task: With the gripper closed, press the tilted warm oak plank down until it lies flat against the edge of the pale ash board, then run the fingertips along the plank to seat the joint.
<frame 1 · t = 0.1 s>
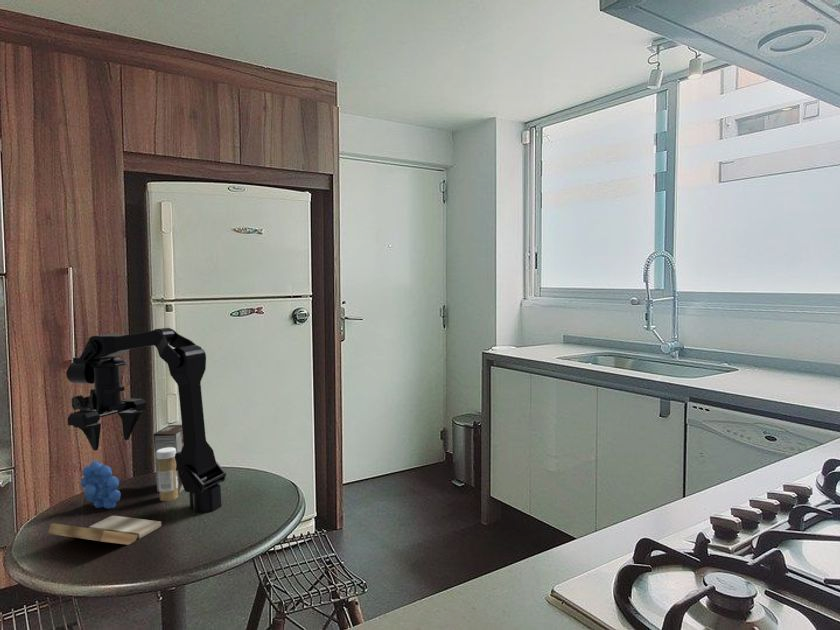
hand: (111, 444, 138), 15 cm above the table, tool pointing down, fingers open, 9 cm apart
ash board: (125, 532, 120), on the table
grapes: (98, 512, 133), on the table
coffee box: (176, 487, 147), on the table
sprinkles bottle: (169, 502, 137), on the table
oak plank: (93, 534, 112), point 3 cm above the table, hinge at 30.0°
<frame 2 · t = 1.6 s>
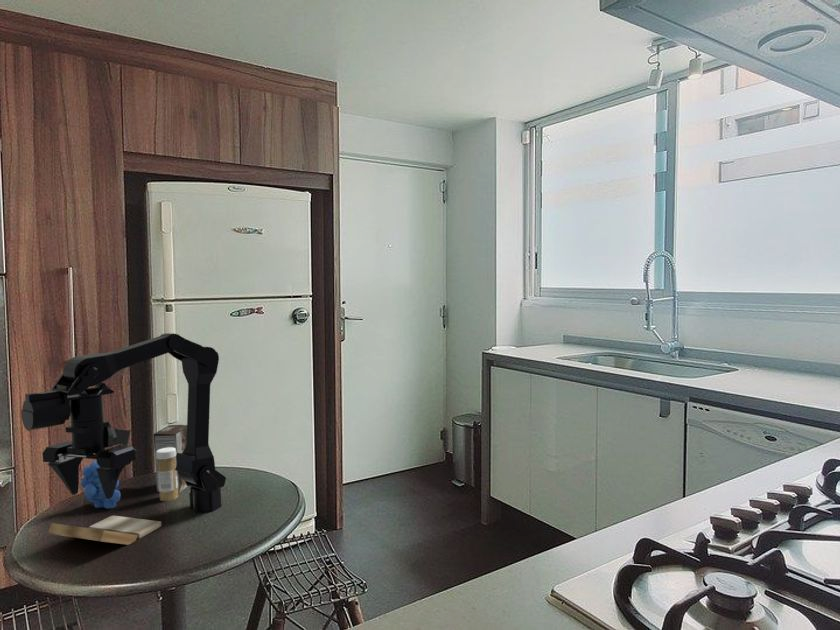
hand: (92, 496, 109), 12 cm above the table, tool pointing down, fingers open, 9 cm apart
nothing on the table moved.
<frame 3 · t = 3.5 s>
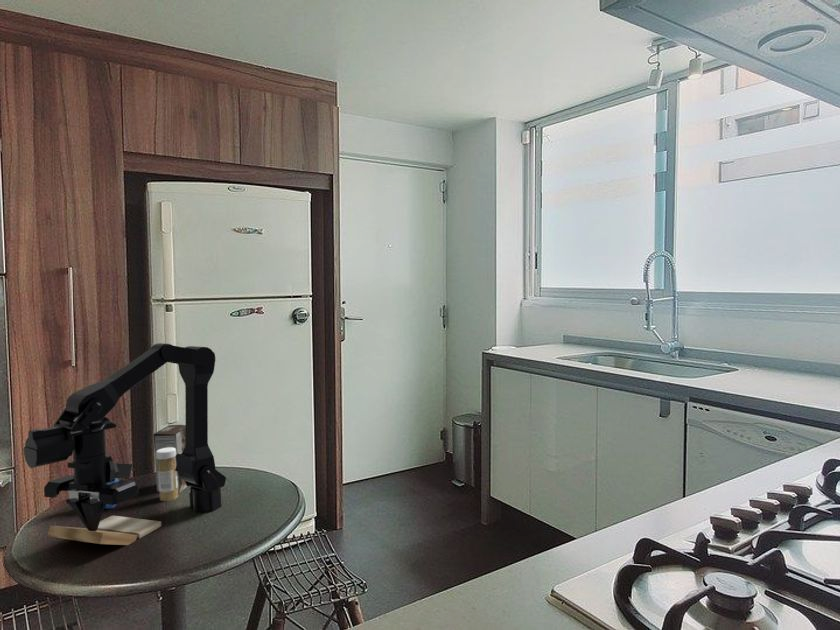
hand: (93, 531, 109), 5 cm above the table, tool pointing down, fingers closed, pressing on oak plank
oak plank: (92, 535, 112), point 3 cm above the table, hinge at 26.9°, touching gripper
everything else where it was.
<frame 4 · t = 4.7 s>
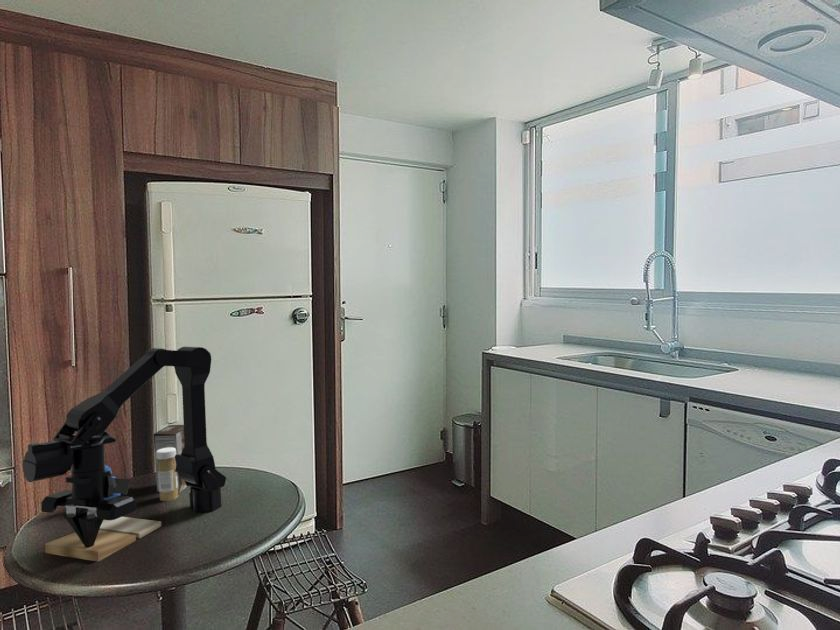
hand: (89, 547, 108), 2 cm above the table, tool pointing down, fingers closed, pressing on oak plank
oak plank: (91, 544, 112), point 1 cm above the table, hinge at 5.3°, touching gripper
everything else where it was.
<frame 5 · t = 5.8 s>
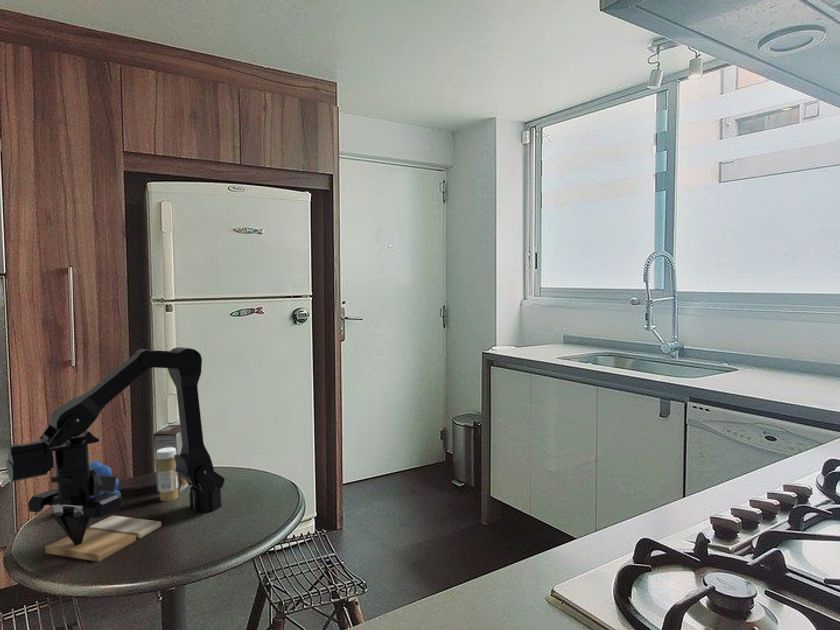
hand: (78, 544, 110), 2 cm above the table, tool pointing down, fingers closed, pressing on oak plank
oak plank: (91, 545, 112), point 1 cm above the table, hinge at 1.7°, touching gripper
everything else where it was.
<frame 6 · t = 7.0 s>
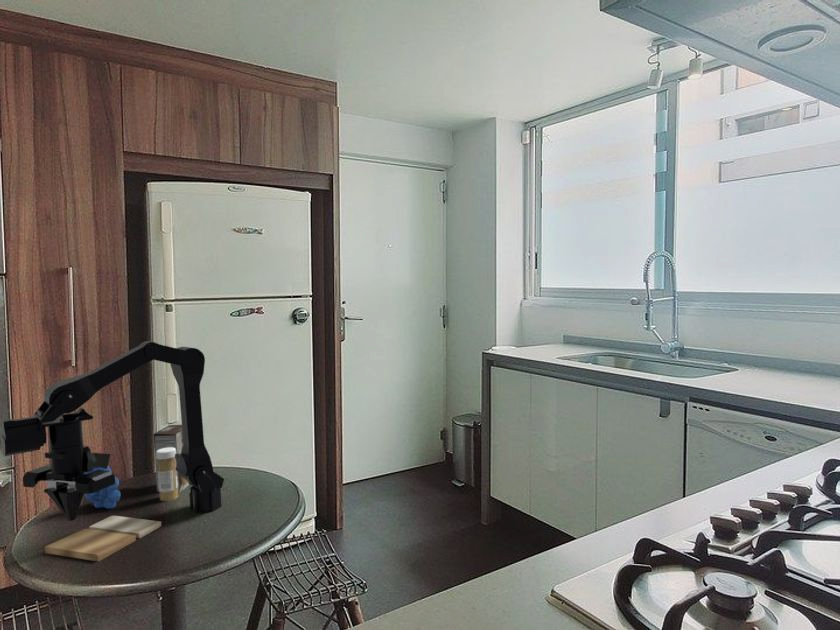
hand: (71, 520, 111), 7 cm above the table, tool pointing down, fingers closed
oak plank: (91, 545, 112), point 1 cm above the table, hinge at 1.6°
everything else where it was.
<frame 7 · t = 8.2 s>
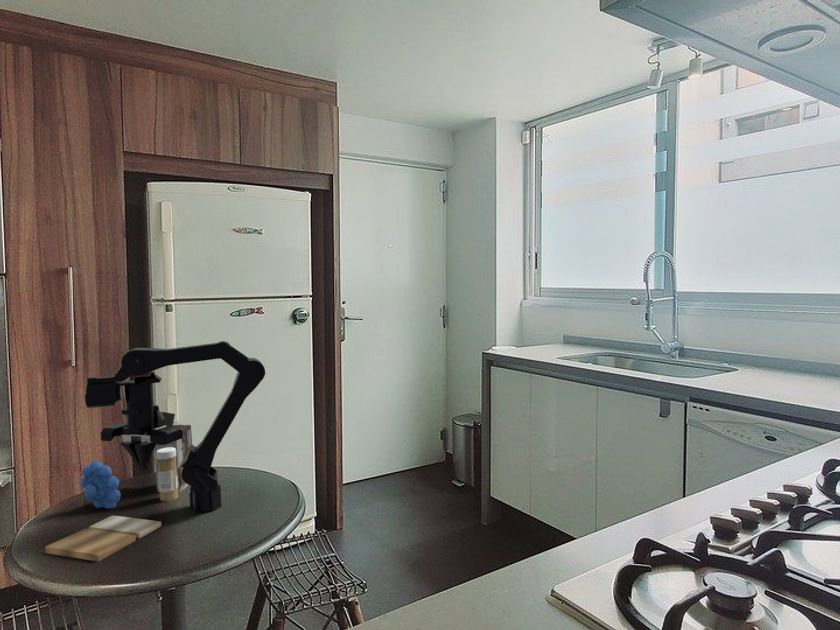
hand: (143, 470, 125), 12 cm above the table, tool pointing down, fingers closed
nothing on the table moved.
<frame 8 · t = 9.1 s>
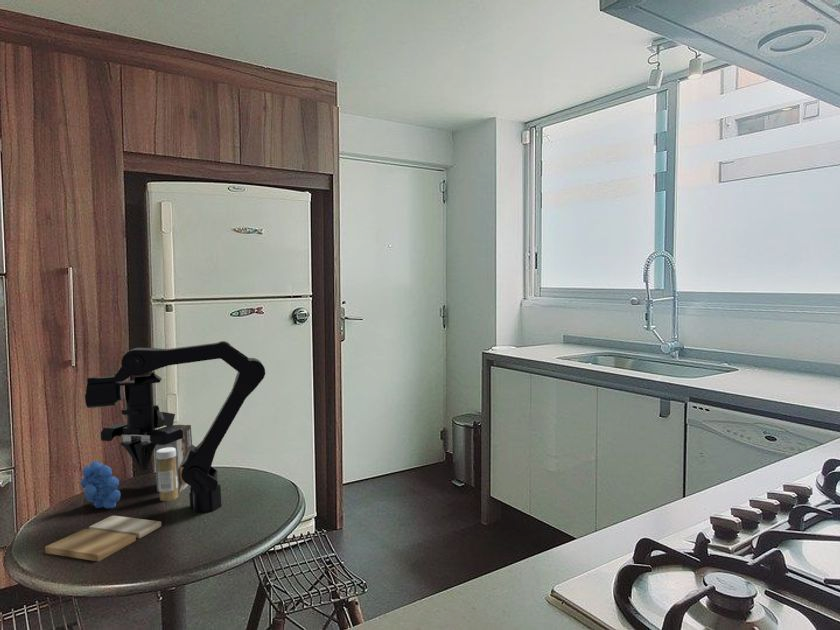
hand: (144, 470, 125), 12 cm above the table, tool pointing down, fingers closed
nothing on the table moved.
at the end: oak plank at +2° (first picture: +30°) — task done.
